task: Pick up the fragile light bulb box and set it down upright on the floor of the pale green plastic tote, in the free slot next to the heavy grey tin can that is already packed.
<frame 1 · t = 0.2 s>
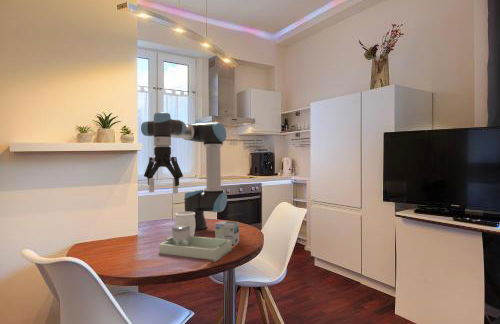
hand: (163, 192, 143), 28 cm above the table, fingers open, 13 cm apart
tote: (196, 252, 142), on the table
light bulb box: (227, 244, 157), on the table
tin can: (181, 249, 145), point 1 cm above the table, touching tote
jar: (185, 242, 161), on the table
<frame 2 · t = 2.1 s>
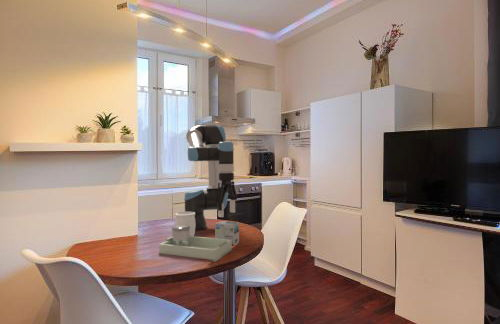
hand: (226, 214, 157), 15 cm above the table, fingers open, 13 cm apart
nothing on the table moved.
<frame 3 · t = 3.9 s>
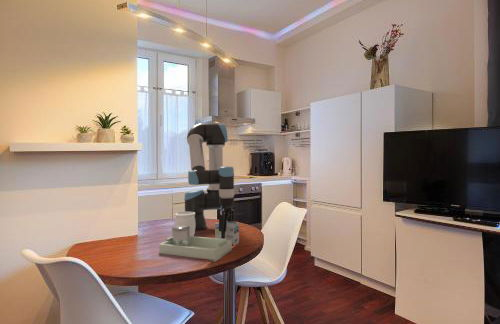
hand: (227, 242, 157), 1 cm above the table, fingers closed on light bulb box, 7 cm apart
light bulb box: (227, 243, 157), on the table, touching gripper
everything else where it was.
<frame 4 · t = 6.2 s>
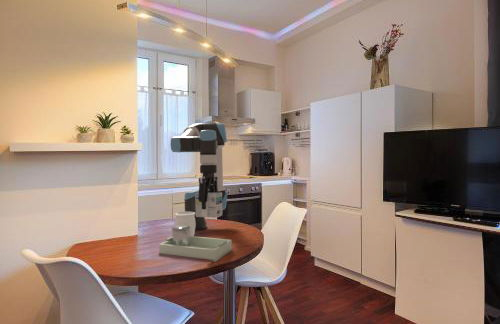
hand: (208, 215, 141), 18 cm above the table, fingers closed on light bulb box, 7 cm apart
light bulb box: (209, 216, 141), point 17 cm above the table, touching gripper
everything else where it was.
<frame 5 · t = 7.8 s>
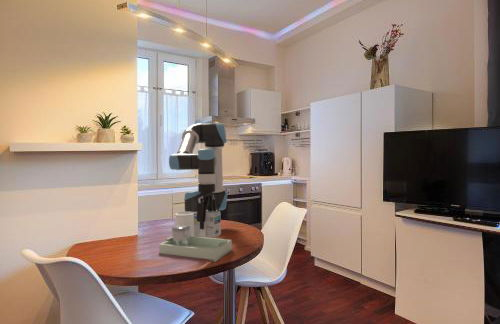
hand: (207, 234, 140), 9 cm above the table, fingers closed on light bulb box, 7 cm apart
light bulb box: (207, 235, 140), point 8 cm above the table, touching gripper
everything else where it was.
when the fingers open (5 cm above the table, at t = 9.0 s): light bulb box drops 3 cm, resting on tote.
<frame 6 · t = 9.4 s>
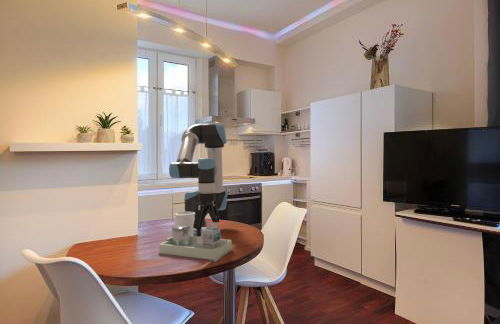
hand: (207, 239, 140), 7 cm above the table, fingers open, 13 cm apart
light bulb box: (207, 252, 139), point 1 cm above the table, touching tote
everything else where it was.
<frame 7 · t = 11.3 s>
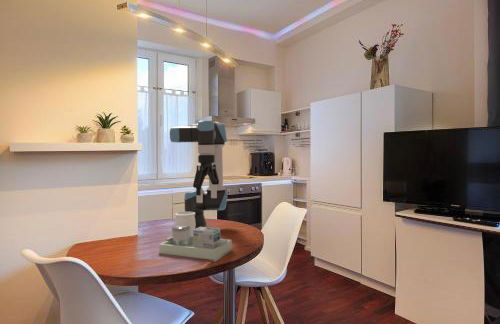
hand: (207, 200, 144), 24 cm above the table, fingers open, 13 cm apart
nothing on the table moved.
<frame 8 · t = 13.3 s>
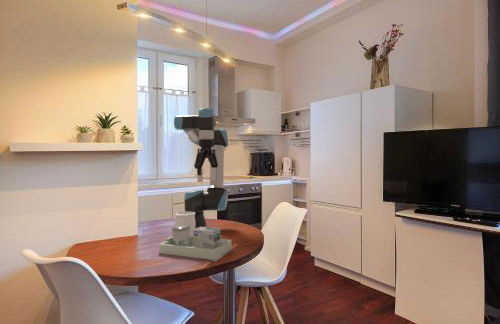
hand: (207, 180, 158), 32 cm above the table, fingers open, 13 cm apart
nothing on the table moved.
at the end: light bulb box inside the target area on the tote (0.7 cm from its centre), point 0.8 cm above the tote's base; light bulb box tilted 0°; the gripper is holding nothing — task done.
